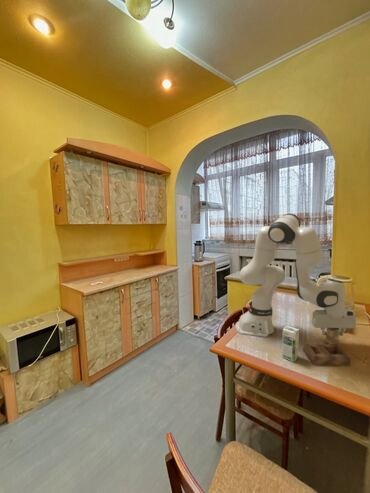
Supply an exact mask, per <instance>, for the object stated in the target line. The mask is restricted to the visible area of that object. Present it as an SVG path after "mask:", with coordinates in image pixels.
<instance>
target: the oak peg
mask: <svg viewBox="0 0 370 493" xmlns="http://www.w3.org/2000/svg"><path fill="white" fill-rule="evenodd" d="M325 331H326V332H327V335H325V341H326V343H327V344H337V345H338V346H339V337H340V335H339V328H326V330H325Z"/></svg>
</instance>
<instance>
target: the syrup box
mask: <svg viewBox="0 0 370 493" xmlns="http://www.w3.org/2000/svg"><path fill="white" fill-rule="evenodd" d="M299 340H300V328H296V327H294V326H293V327H292V326H289V325H286V326H285V327H283V329H282V348H281V349H282V351H281V358H283V359H287V360H289V361H291V362H292V363H295V362H296V360H297V359H298V357H299V346H300V345H299V342H300V341H299Z"/></svg>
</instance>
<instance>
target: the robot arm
mask: <svg viewBox="0 0 370 493" xmlns="http://www.w3.org/2000/svg"><path fill="white" fill-rule="evenodd" d="M278 244H285V245H286V244H287V245H289V244H293V247H294V250H295V254H296V259H295V260H294V262H295V263H294V265H295V266H294V267H295V273H296V281H297V287H296V294H297V296H298V298H299V299H301V300H302V301H303V300H304V301H306V302H309V304H312V305H314V306H316V307H319V308H322V309H315V310H314V311H312V314H311V315H312V317H311V324H312V326H313V327H314V328H315V329H316V328H318V329H320V330H321V331H322V332H321V333H322V335H323V336H326V335H327V332H326V330H325V329H327V328H342V329H341V330H340V331H339V337H340V336H342V337H343V336H344V333H345V332H346V331H347V329H355V328H356V326H357V318H356V311H354V310H352V309H351V308H349V307H347V306H346V305H345V300H346V285H345V283H344V282H343V281H341V280H339V279H334V278H327V279H326V282H325V283H324V284H322V285H317V284H314V283H313V282H312V281H311V279H310V272H309V271H310V270H309V269H310V268H312V267H315V266H317V265H319V264H320V263H321V262H322V260H323V259H324V258H323V256H324V255H323V249H322V247H321V242H320V239H319V237H318V235H317V232H316V231H315V229H314V228H313V227H311V226H310V227H309V226H303V227H301V219H300V218H299V216H298V215H296V214H294V213H287V214H283V215H282V216H280V217H279V218H277V219H276V220H275V221H274V222H273V223H272V224H270V225H264V226H261V227H260V228H258V231H257V234H256V239H255V244H254V252H253V257H252V258H251V260H250V261H249V263H248V264H246V265H245V266H244V267H242V268H241V269H240V271H239V278H240V281H241V282H242V283H243V284H244V285H245V284H246V285H251V286H252V285H254V286H255V285H256V286H257V285H258V286H259V285H261V286H260V287H259V288H257V289H255V290H254V291H253V292H252V295H251V305H250V304H248V303H247V304H246V307H247V309H248V311H246V312H245V313H243V314H241V315H240V316H239V321H237V322H236V323H235V329H236V332H237V333H238V334H240V335H247V336H256V337H257V336H258V337H264V338H266V337H267V338H268V336H269V335H271V334H273V333H274V332H275V329H274V328H275V327H274V323H273V313H274V311H273V306H272V305H273V296H274V293H275V290H276V289H277V288H278V287H279V285H281V284H282V283H283V282H284V281H285V280H286V271H285V270H284V268H283V267H281V266H277V265H270V264H271V263H273V262H274V260H275V258H276V253H277V245H278Z"/></svg>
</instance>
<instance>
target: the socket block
mask: <svg viewBox="0 0 370 493" xmlns="http://www.w3.org/2000/svg"><path fill="white" fill-rule="evenodd" d="M302 352H303V354H305V356H306V357H307V359H308V361H309V362H310V363H311V365H320V366H323V365H324V366H351V356H350V355H348V353H347V352H345V351H344V349H342V348H341V346H340V345H339V344H338V345H337V344H329V343H325V344H324V343H303V344H302Z"/></svg>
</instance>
